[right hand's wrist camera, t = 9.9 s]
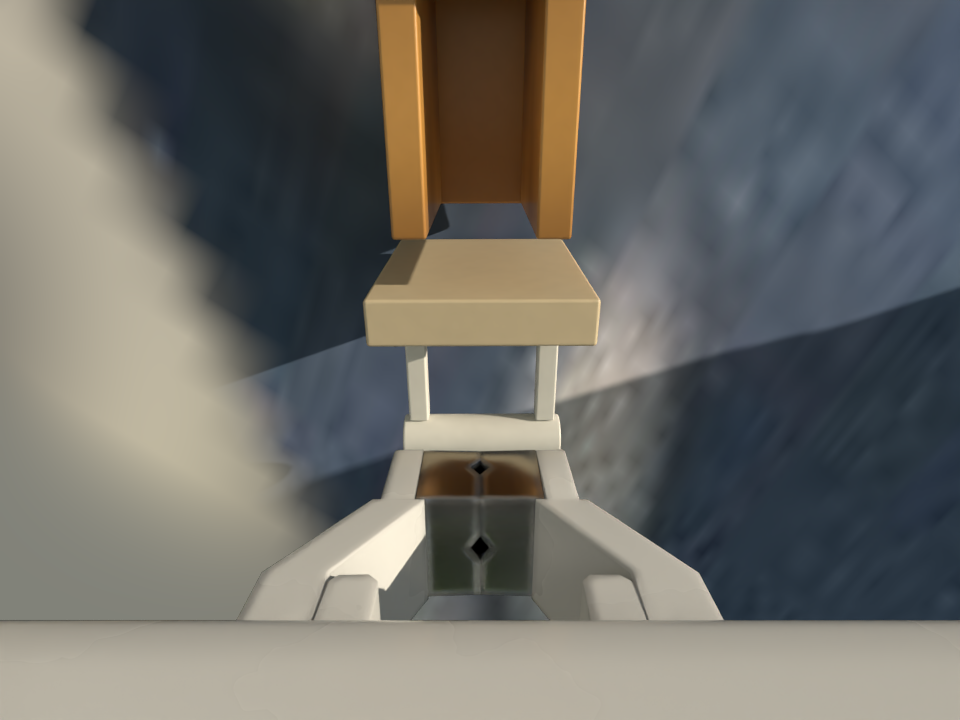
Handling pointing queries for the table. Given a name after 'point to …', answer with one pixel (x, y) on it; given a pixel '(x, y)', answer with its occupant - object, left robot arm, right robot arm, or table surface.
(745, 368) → the table surface
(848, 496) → the table surface
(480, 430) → the drawer
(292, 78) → the table surface
